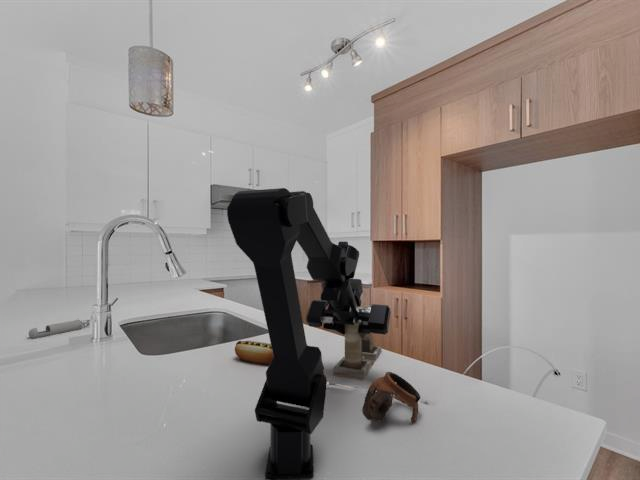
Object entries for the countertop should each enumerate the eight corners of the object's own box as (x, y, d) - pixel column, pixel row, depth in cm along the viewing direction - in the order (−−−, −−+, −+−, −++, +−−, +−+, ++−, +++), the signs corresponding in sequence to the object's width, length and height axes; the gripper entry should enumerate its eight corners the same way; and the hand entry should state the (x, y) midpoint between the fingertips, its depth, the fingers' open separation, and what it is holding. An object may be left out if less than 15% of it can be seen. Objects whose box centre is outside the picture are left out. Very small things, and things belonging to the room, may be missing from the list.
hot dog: (272, 369, 80) (273, 349, 80) (230, 361, 85) (230, 342, 85) (282, 362, 85) (282, 343, 85) (241, 355, 90) (241, 337, 90)
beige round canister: (358, 370, 73) (358, 314, 74) (342, 368, 75) (342, 313, 75) (363, 364, 78) (363, 310, 78) (348, 361, 79) (348, 309, 79)
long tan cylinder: (370, 358, 84) (370, 308, 84) (356, 356, 86) (356, 307, 86) (374, 352, 88) (374, 305, 88) (360, 350, 90) (360, 304, 90)
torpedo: (32, 340, 104) (32, 320, 104) (25, 338, 106) (26, 319, 106) (93, 327, 120) (93, 310, 120) (86, 326, 122) (86, 309, 122)
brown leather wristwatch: (369, 399, 65) (389, 365, 65) (408, 435, 60) (431, 398, 60) (343, 409, 55) (368, 369, 55) (388, 454, 50) (415, 409, 50)
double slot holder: (362, 385, 70) (362, 373, 71) (332, 380, 73) (332, 368, 73) (382, 355, 90) (382, 345, 90) (357, 351, 93) (357, 342, 93)
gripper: (389, 269, 69) (397, 310, 79) (311, 266, 76) (327, 304, 86) (382, 312, 62) (391, 352, 72) (296, 305, 69) (315, 342, 79)
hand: (354, 335), depth 77 cm, fingers closed on beige round canister, 4 cm apart
